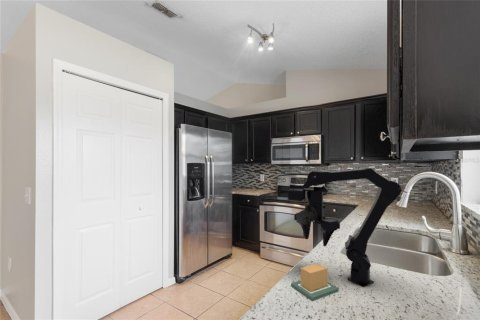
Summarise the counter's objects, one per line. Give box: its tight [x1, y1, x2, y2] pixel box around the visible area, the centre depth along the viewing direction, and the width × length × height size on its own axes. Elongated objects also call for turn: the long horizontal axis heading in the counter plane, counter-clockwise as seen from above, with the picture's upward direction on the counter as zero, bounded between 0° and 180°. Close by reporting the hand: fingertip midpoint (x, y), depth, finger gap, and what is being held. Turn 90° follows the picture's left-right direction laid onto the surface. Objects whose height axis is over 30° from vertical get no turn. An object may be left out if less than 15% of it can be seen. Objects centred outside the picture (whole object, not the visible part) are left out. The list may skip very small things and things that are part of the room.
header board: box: [290, 279, 339, 302], centre depth 79 cm, size 12×10×4 cm
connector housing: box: [300, 263, 329, 292], centre depth 79 cm, size 8×4×6 cm, turn 118°
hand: (315, 242), depth 91 cm, fingers open, 9 cm apart
